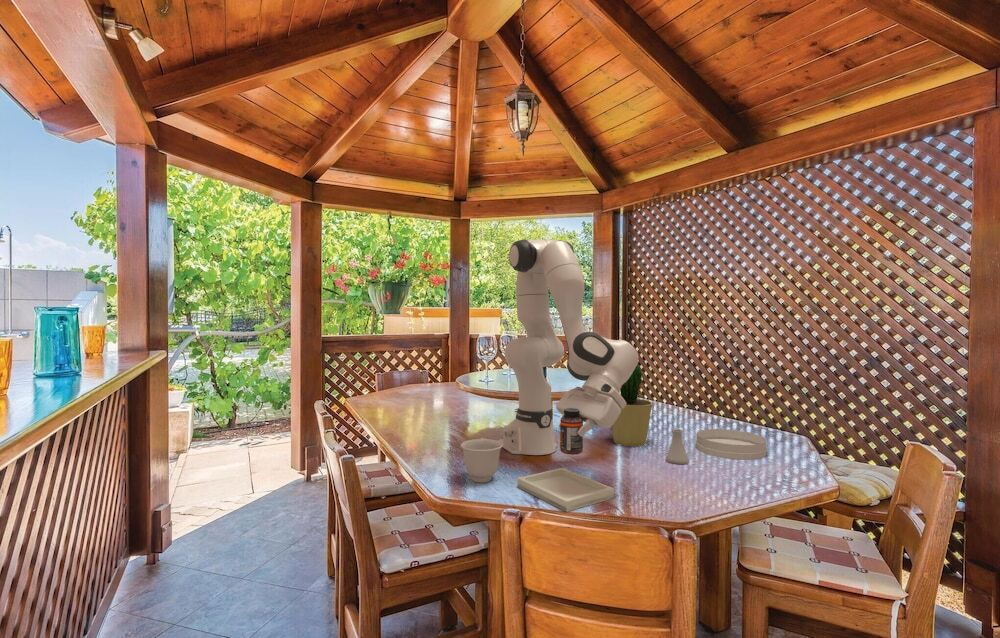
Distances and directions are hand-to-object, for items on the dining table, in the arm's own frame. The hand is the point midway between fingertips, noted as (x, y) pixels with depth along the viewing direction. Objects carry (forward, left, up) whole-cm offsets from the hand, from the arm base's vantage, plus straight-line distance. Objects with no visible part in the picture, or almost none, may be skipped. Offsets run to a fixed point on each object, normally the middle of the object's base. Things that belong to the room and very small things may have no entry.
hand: (569, 431), depth 133 cm
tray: (-1, -1, -16) cm, 16 cm away
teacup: (-23, -13, -16) cm, 31 cm away
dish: (0, +73, -17) cm, 75 cm away
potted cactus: (-26, +52, -16) cm, 60 cm away
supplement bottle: (0, +1, -6) cm, 6 cm away
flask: (-2, +47, -16) cm, 50 cm away
